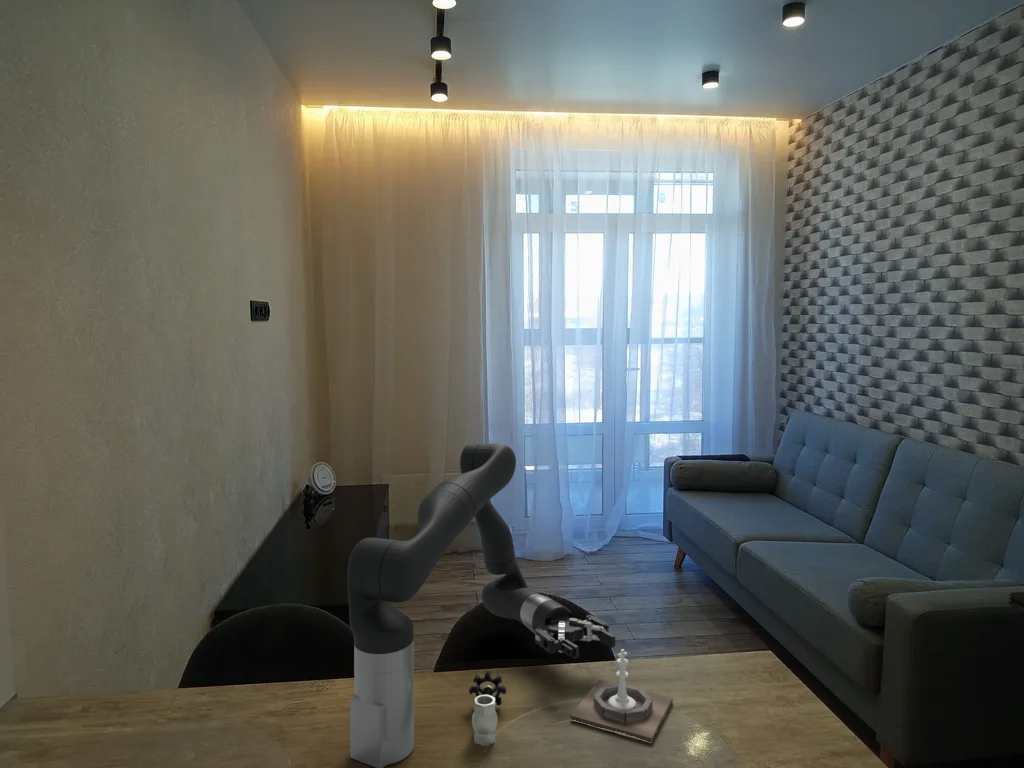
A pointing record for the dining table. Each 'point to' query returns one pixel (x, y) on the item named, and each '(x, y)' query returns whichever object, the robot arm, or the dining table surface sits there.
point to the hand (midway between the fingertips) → (596, 647)
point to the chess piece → (622, 687)
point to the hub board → (631, 721)
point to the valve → (486, 708)
